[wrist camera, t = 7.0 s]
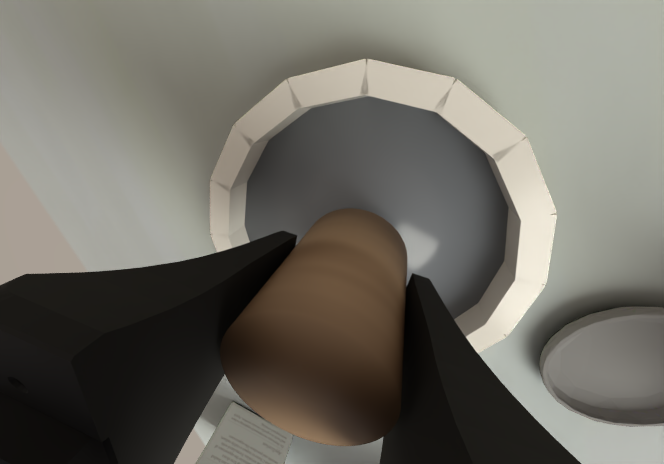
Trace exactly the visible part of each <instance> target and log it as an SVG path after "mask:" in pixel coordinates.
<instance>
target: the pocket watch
mask: <svg viewBox="0 0 664 464" xmlns="http://www.w3.org/2000/svg"><path fill="white" fill-rule="evenodd" d="M539 367H540V372H541V376H542V379H543V383H544V385H545V386H546V388H547V390H548V391H549V393H550V394H551V395H552V396H553V397H554V398H555V399H556V401H557V402H559V403H560V404H562V405H563V406H564V407H566V408H567V409H568V410H571V411H573V412H575V413H578V414H580V415H582V416H584V417H587V418H589V419H591V420H594V421H599V422H603V423H607V424H613V425H621V426H629V427H635V426H664V307H618V308H614V309H610V310H606V311H601V312H597V313H593V314H588V315H586V316H584V317H582V318H580V319H578V320H576V321H574V322H571V323H569V324H567V325H566V326H564V327H563V328H562V329H561V330H560V331H558V332H557V333H556V334H555V335H554V336H552V337H551V338H550V340H549V341H548V342H547V344H546V345H545V346H544V349H543V351H542V353H541V356H540V364H539Z"/></svg>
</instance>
